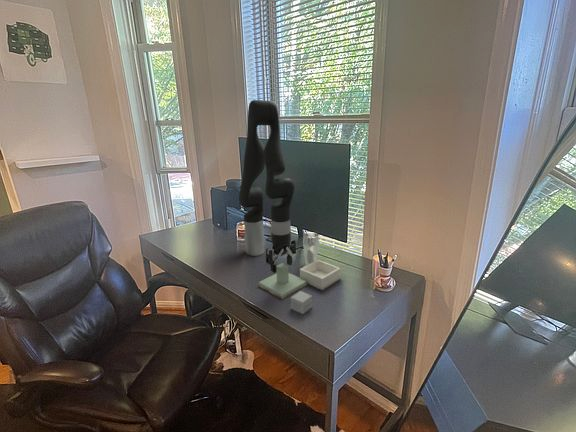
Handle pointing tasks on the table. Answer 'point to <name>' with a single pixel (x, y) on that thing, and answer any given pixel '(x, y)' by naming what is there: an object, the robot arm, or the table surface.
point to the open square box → (320, 274)
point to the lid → (282, 281)
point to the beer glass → (310, 247)
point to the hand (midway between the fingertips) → (281, 268)
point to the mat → (284, 296)
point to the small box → (301, 302)
